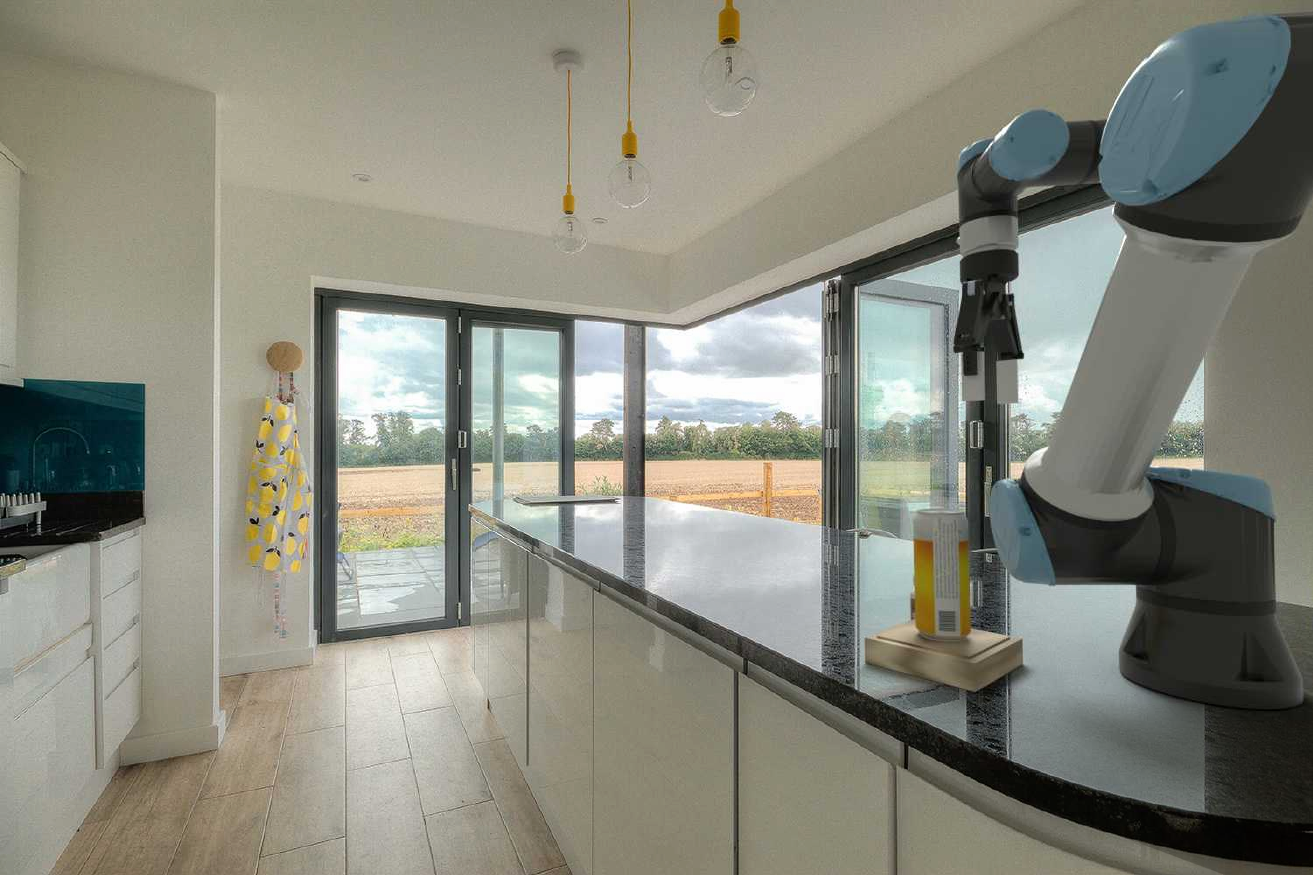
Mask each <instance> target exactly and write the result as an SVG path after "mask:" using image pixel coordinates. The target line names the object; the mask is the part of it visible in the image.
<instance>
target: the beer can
mask: <svg viewBox="0 0 1313 875" xmlns="http://www.w3.org/2000/svg"><path fill="white" fill-rule="evenodd" d="M912 534H913V536H912V538H913V539H912V540H913V569H914V570H913V575H914V582H915V586H914V589H915V623H916V628H917V630H918V631H919V632H920V634H921V636H923V637H925V638H927V639H930V640H935V641H941V642H959V641H963V640H965V639H966V637H967V636H968V635H969V634H970V633H971V629H972V624H971V623H972V622H971V585H970V584H971V581H970V580H971V579H970V548H969V546H970V544H969V541H970V540H969V539H970V538H969V520H968V518H967V516H966V514H965V511H964V510H961V509H951V508H921V509H920V508H919V509H916V511H915V515H914V516H913V519H912Z"/></svg>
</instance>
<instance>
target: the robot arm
mask: <svg viewBox="0 0 1313 875" xmlns="http://www.w3.org/2000/svg"><path fill="white" fill-rule="evenodd" d="M1119 92H1120V93H1119V95H1118V96H1117V99H1116V100H1115V102H1114V104H1113V107H1112V109H1111V110H1110V112H1109V115H1108V118H1104V119H1087V120H1086V119H1085V120H1071V121H1070V120H1069V121H1065V120H1064V119H1063V117H1062V116H1061V115H1059V114H1058V113H1054V112H1051V111H1049V110H1047V109H1045V108H1044V109H1041V108H1037V109H1036V108H1035V109H1031V110H1029V111H1026V112H1023V113H1021V114H1019V115H1018V116H1016V117H1015V118H1014V119H1013V120H1012V121H1011V122H1009V124H1007V125H1006V126H1005V127H1003V128H1001V130H1000V131H999V132H998V133H997V134H996V136H995V137H991V138H985V139H982V140H978V141H976V142H974V143H972V145H969V146H966V147H965V148H964V149H963V150H962V151H961V152H960V154H959V157H958V164H957V165H958V166H957V174H956V183H957V192H958V193H957V196H958V228H959V237H958V238H956V244H957V245H959V255H960V256H961V257H962V258H961V259H960V260H959V282H960V284H961V301H960V306H959V311H958V316H957V319H956V320H957V321H956V326H955V332H954V337H953V346H952V347H953V348H952V350H953V353H954V354H960V364H961V365H960V366H961V368H960V370H961V372H960V373H961V401H962V402H975V401H985V400H986V394H985V393H986V392H985V391H986V390H985V387H986V386H985V380H986V379H985V378H986V377H985V352H984V351H981V350H982V346H983V343H984V339H985V336H986V334H987V330H988V328H989V330H990V332H991V337H992V339H993V343H994V346H995V350H996V353H997V357H998V360H996V361H995V362H996V363H995V364H996V367H995V368H996V404H997V405H1008V404H1019V379H1018V378H1019V377H1018V376H1019V373H1018V372H1019V371H1018V366H1019V365H1018V363H1019V362H1018V360H1024V358H1025V353H1024V351H1023V349H1022V343H1021V341H1022V340H1021V337H1020V331H1019V326H1018V320H1017V312H1016V307H1015V306H1016V305H1015V294H1014V292H1009V293H1007V292H1006V287H1005V286H1006V284H1008V283H1009V282H1013V281H1015V280H1016V279H1017V278H1018V277H1019V275H1020V273H1019V272H1020V267H1019V266H1020V265H1019V253H1018V252H1017V251H1016V250H1017V249H1018V248H1019V218H1018V217H1019V214H1018V196H1019V195H1021V194H1022V193H1023V192H1024V191H1025V190H1026V189H1029V188H1038V187H1039V188H1040V187H1057V186H1071V185H1083V184H1101V188H1102V189H1103V191H1104V192H1105V194H1106V195H1107V196H1108V197H1109V198H1110V199H1112V200H1113V201H1114V205H1113V208H1112V211H1111V213H1112V216H1113V218H1114V221H1116V222H1117V224H1118V225H1119V226H1120V227H1121V229H1122V230H1123V232H1124V233H1125V236H1124V238H1123V241H1122V244H1121V247H1120V250H1119V252H1118V255H1117V258H1116V261H1115V263H1114V265H1113V268H1112V271H1111V275H1110V277H1109V280H1108V281H1107V285H1106V287H1105V290H1104V293H1103V296H1102V298H1101V302H1100V304H1099V307H1098V310H1097V313H1096V316H1095V318H1094V321H1093V324H1092V327H1091V329H1090V332H1089V335H1088V338H1087V340H1086V343H1085V346H1084V349H1083V351H1082V354H1081V356H1080V360H1079V362H1078V365H1077V367H1076V370H1075V373H1074V376H1073V379H1072V382H1071V383H1070V384H1071V385H1070V387H1069V389H1068V393H1067V395H1066V397H1065V401H1064V402H1063V406H1062V408H1061V412H1060V414H1059V416H1058V420H1057V423H1056V425H1055V429H1054V431H1053V433H1052V437H1051V439H1050V443H1049V445H1048V446H1046V447H1042V448H1040V449H1037V450H1036V451H1034V452H1033V453H1032V454H1031V455H1030V456H1028V458H1027V459H1026V461H1025V464H1024V467H1023V469H1022V473H1021V475H1020V477H1019V478H1012V477H1007V478H1005V479H1001V480H998V481H996V483H994V485H993V486H992V489H991V492H990V497H989V516H990V517H989V519H990V527H991V532H992V537H993V542H994V544H995V545H994V546H995V548H996V552H997V553H998V556H999V559H1000V561H1001V563H1002V565H1003V567H1004V568H1005V570H1006V571H1007V572H1008V574H1009V575H1010V576H1012V577H1013V578H1014V579H1015V580H1016V581H1019V582H1022V583H1026V584H1034V585H1047V586H1049V587H1055V586H1135V606H1134V609H1133V611H1132V614H1131V617H1130V619H1129V622H1128V624H1127V627H1126V629H1125V632H1124V635H1123V638H1122V641H1121V642H1120V646H1119V648H1118V670H1119V671H1120V673H1121V674H1122V675H1123V676H1124V677H1125V678H1127V679H1128V680H1130V681H1132V682H1134V683H1136V684H1139V685H1141V686H1143V687H1144V688H1148V689H1152V690H1153V691H1158V692H1161V693H1163V694H1167V695H1171V696H1174V697H1177V698H1181V699H1186V700H1190V701H1195V702H1200V703H1206V704H1209V705H1210V704H1211V705H1218V706H1224V707H1231V708H1241V709H1252V710H1253V709H1255V710H1279V709H1290V708H1294V707H1296V706H1297V707H1298V706H1300V705H1301V704H1303V702H1304V683H1303V682H1304V681H1303V676H1302V674H1301V672H1300V669H1299V666H1298V665H1297V663H1296V660H1295V659H1294V656H1293V654H1292V651H1291V649H1290V647H1289V645H1288V643H1287V641H1286V638H1285V635H1284V634H1283V631H1282V628H1281V626H1280V625H1279V621H1278V617H1277V616H1278V615H1277V590H1276V588H1277V587H1276V556H1275V554H1276V553H1275V523H1277V517H1276V515H1275V512H1274V511H1275V510H1274V505H1273V496H1272V490H1271V487H1270V486H1269V485H1268V484H1267V483H1266V482H1265V481H1264V480H1263V479H1261V478H1259V477H1257V476H1254V475H1250V474H1243V473H1236V472H1235V473H1234V472H1227V471H1226V472H1225V471H1219V470H1218V471H1216V470H1208V469H1197V468H1196V469H1195V468H1183V467H1174V466H1161V465H1160V466H1157V465H1152V463H1153V461H1154V459H1155V457H1156V455H1157V453H1158V451H1159V448H1160V447H1161V446H1162V443H1163V440H1164V438H1165V437H1166V435H1167V433H1168V431H1169V428H1170V427H1171V424H1172V422H1173V421H1174V418H1175V416H1176V414H1177V413H1178V410H1179V408H1180V406H1181V404H1182V402H1183V400H1184V398H1185V396H1186V394H1187V392H1188V390H1189V388H1190V386H1191V384H1192V383H1193V380H1194V378H1195V376H1196V374H1197V372H1198V370H1199V368H1200V366H1201V364H1202V362H1203V360H1204V358H1205V356H1206V354H1207V352H1208V351H1209V348H1210V346H1211V344H1212V342H1213V339H1214V338H1215V336H1216V334H1217V332H1218V329H1219V328H1220V326H1221V324H1222V322H1223V320H1224V317H1225V316H1226V314H1227V312H1228V310H1229V307H1230V305H1231V303H1232V301H1233V300H1234V297H1235V296H1236V294H1237V292H1238V289H1239V287H1240V285H1241V283H1242V281H1243V279H1244V278H1245V275H1246V274H1247V272H1248V270H1249V267H1250V265H1251V264H1252V262H1253V259H1254V257H1255V255H1256V254H1257V253H1258V252H1259V251H1262V250H1264V249H1267V248H1268V247H1270V246H1272V245H1275V244H1278V243H1279V242H1282V241H1284V240H1287V239H1288V238H1290V237H1291V236H1292V235H1293V234H1294V232H1295V231H1296V229H1297V228H1298V225H1299V223H1300V222H1301V220H1302V218H1303V216H1304V214H1305V212H1306V210H1307V208H1308V207H1309V205H1310V203H1311V201H1312V199H1313V11H1312V10H1311V11H1300V12H1282V13H1266V12H1265V13H1262V14H1255V13H1254V14H1253V13H1252V14H1247V15H1245V16H1243V17H1238V18H1232V19H1226V20H1225V19H1224V20H1219V21H1213V22H1212V21H1211V22H1206V23H1201V24H1197V25H1193V26H1191V27H1188V28H1186V29H1185V28H1184V29H1182V30H1181V31H1179V32H1177V33H1175V34H1174V35H1172V36H1170V37H1169V38H1168V39H1166V40H1165V41H1163V42H1162V43H1161V44H1160V45H1158V46H1157V47H1156V49H1154V50H1153V52H1152V54H1151V53H1150V54H1149V55H1148V56H1147V57H1145V58H1144V59H1143V60H1142V61H1141V63H1140V64H1139V66H1138V67H1136V69H1135V70H1134V71H1133V73H1132V74H1131V76H1129V78H1128V80H1127V81H1126V83H1125V84H1124V86H1123V87H1122V88H1121V91H1119Z"/></svg>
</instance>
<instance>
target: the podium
mask: <svg viewBox="0 0 1313 875" xmlns="http://www.w3.org/2000/svg"><path fill="white" fill-rule="evenodd" d="M1023 642H1024V641H1023V638H1021V637H1017V636H1012V635H1011V636H1010V635H1005V634H1000V633H996V632H991V631H985V630H981V629H975V628H971V633H970V634H969V635H968V636H967V637H966V639H965V640H963V641H959V642H941V641H935V640H930V639H927V638H925V637H923V636H921V634H920V632H919V631H918V630H917V628H916V623H915V619H914V620H909V621H906V622H902V623H901V624H898V625H895V626H893V627H890V628H887V629H885V630H884V629H883V630H881V631H879V632H876V633H873V634H871V635H868V636H864V656H865V657H864V663H866V664H870V665H873V666H878V667H881V668H884V669H888V670H892V671H895V672H900V673H903V674H906V675H911V676H914V677H918V678H921V679H926V680H929V681H933V682H937V683H941V684H944V685H948V686H952V687H955V688H960V689H963V690H966V691H970V692H974V693H976V692H977V691H980V690H981V689H983V688H984V687H986V686H988V685H990V684H991V683H994V682H995V681H997V680H998V679H999V678H1002V677H1004V676H1005V675H1007V674H1008V673H1010V672H1012V671H1013V670H1015V669H1017V668H1019V667H1021V666H1023V665H1024V655H1023V654H1024V652H1023V651H1024V649H1023V647H1024V646H1023Z"/></svg>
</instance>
